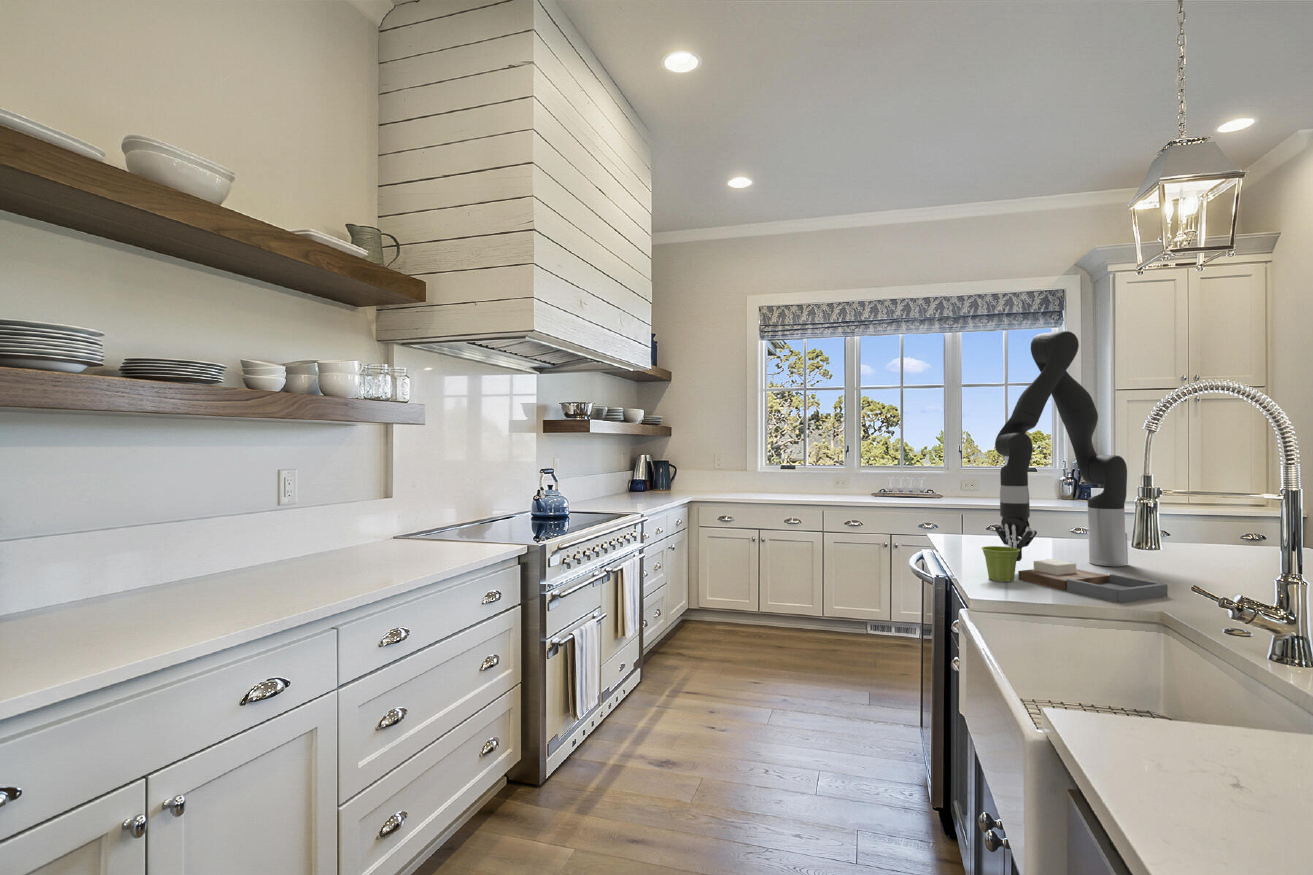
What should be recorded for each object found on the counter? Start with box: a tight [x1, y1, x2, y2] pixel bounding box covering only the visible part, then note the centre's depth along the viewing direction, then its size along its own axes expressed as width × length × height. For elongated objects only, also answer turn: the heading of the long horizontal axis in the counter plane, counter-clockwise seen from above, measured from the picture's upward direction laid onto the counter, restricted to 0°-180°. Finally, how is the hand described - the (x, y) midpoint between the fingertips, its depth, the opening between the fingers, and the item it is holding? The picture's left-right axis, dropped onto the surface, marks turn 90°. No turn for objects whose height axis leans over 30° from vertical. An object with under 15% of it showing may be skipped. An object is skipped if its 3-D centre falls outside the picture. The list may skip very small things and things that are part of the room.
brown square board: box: [1017, 568, 1110, 592], centre depth 174 cm, size 16×14×2 cm
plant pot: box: [981, 545, 1020, 583], centre depth 178 cm, size 9×9×9 cm
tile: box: [1033, 559, 1077, 575], centre depth 176 cm, size 7×7×2 cm
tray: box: [1066, 573, 1169, 604], centre depth 160 cm, size 16×14×3 cm
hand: (1015, 560), depth 188 cm, fingers closed
